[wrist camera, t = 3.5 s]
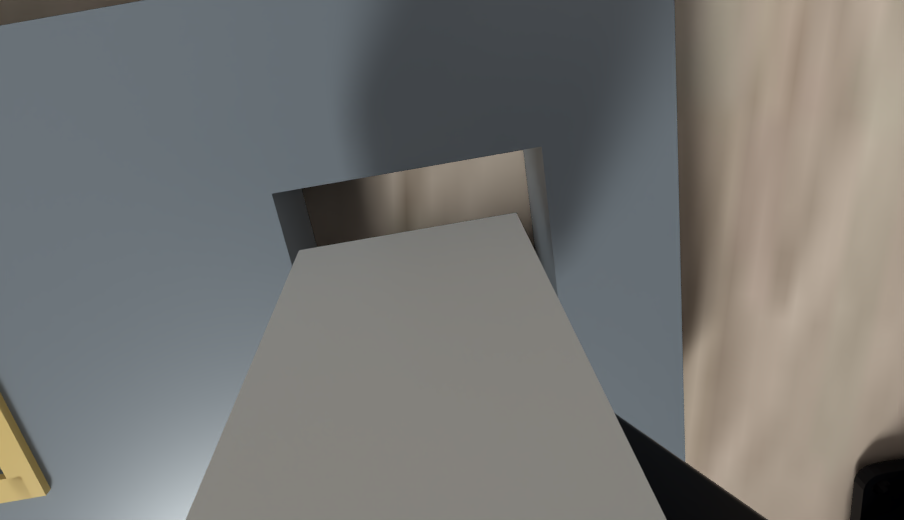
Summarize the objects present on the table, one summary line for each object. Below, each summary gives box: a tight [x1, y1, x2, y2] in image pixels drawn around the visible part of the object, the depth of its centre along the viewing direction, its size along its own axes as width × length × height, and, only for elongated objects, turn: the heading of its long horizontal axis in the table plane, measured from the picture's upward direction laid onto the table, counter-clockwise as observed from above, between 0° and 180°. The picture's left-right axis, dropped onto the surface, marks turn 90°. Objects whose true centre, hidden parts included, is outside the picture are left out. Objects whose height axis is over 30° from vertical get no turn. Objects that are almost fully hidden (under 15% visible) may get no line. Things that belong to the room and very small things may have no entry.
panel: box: [0, 0, 685, 520], centre depth 14 cm, size 22×12×3 cm, turn 99°
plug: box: [186, 213, 666, 520], centre depth 7 cm, size 4×4×9 cm
